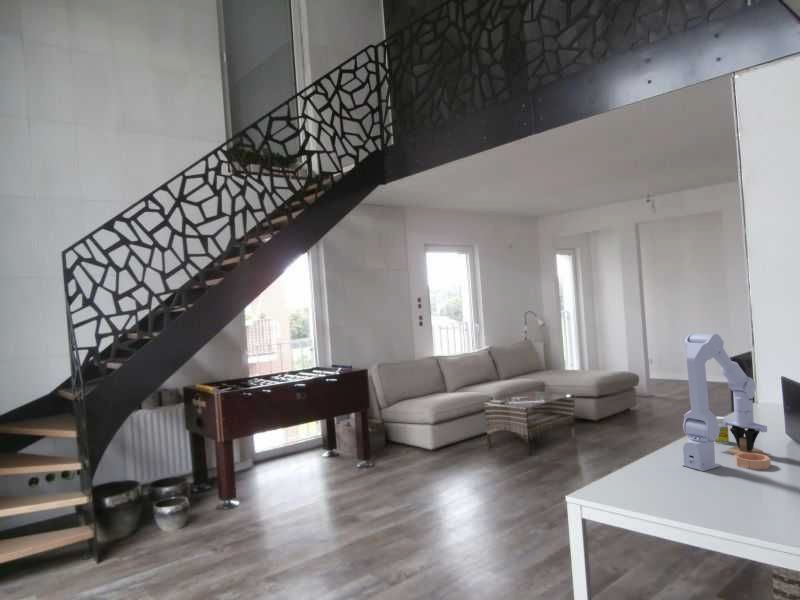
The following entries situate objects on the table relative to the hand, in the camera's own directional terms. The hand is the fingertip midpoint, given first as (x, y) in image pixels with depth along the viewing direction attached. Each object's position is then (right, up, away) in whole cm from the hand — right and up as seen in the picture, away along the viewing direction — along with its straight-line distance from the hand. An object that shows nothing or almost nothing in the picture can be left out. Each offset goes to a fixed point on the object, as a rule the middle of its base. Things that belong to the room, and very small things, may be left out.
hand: (745, 448), depth 197 cm
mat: (0, -2, 0) cm, 2 cm away
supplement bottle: (0, -2, +16) cm, 16 cm away
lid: (0, -2, 0) cm, 2 cm away
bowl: (-6, -2, -13) cm, 14 cm away
